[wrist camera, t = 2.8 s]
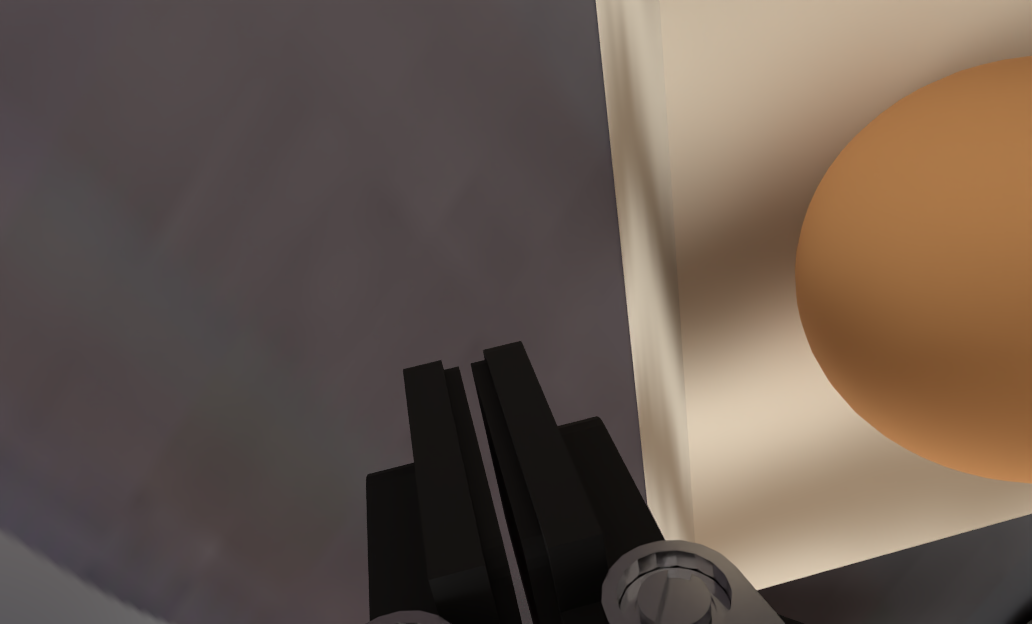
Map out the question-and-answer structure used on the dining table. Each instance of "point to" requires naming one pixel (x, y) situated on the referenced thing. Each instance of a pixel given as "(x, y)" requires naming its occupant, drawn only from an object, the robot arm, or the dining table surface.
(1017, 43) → the hole board
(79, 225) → the dining table surface
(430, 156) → the dining table surface
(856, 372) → the ball
